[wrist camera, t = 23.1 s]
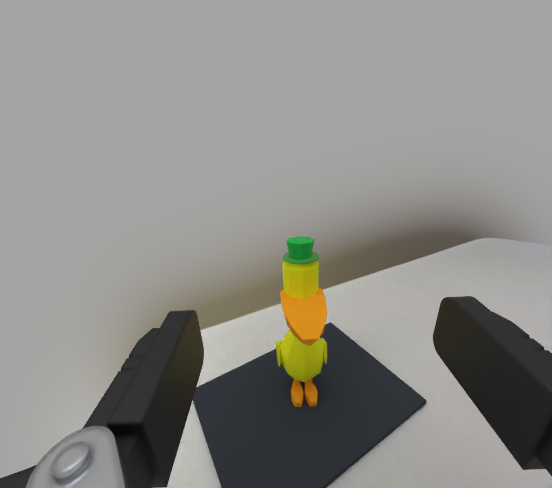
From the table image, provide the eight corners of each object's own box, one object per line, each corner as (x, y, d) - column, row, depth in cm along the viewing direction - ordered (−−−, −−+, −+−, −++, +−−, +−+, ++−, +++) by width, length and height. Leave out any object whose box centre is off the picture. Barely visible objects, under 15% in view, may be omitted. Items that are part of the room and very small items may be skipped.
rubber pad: (244, 556, 12) (243, 553, 12) (190, 393, 20) (190, 390, 20) (425, 403, 19) (426, 400, 19) (330, 324, 27) (330, 322, 27)
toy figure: (339, 445, 16) (350, 272, 12) (281, 448, 16) (268, 277, 12) (319, 358, 22) (321, 223, 18) (277, 361, 22) (268, 226, 18)
